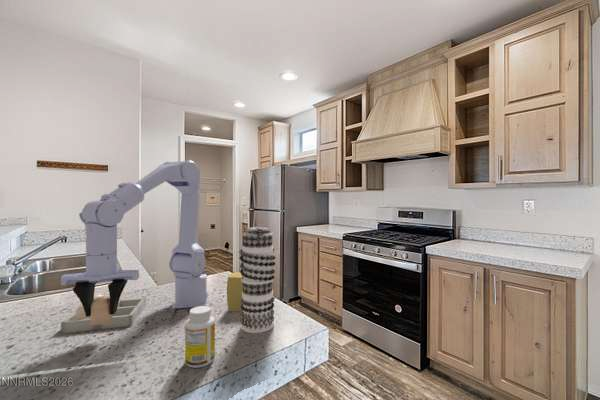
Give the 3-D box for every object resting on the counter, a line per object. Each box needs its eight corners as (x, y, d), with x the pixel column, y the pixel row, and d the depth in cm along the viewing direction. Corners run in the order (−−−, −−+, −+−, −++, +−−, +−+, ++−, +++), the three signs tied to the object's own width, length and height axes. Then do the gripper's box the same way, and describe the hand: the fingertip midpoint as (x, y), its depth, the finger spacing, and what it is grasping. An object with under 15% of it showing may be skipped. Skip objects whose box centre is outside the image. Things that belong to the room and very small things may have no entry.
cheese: (234, 299, 90) (235, 268, 90) (267, 299, 90) (268, 268, 90) (226, 312, 80) (226, 277, 80) (263, 312, 80) (263, 277, 80)
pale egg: (98, 320, 72) (98, 299, 72) (91, 327, 68) (91, 304, 69) (80, 322, 71) (80, 300, 71) (72, 329, 67) (72, 306, 67)
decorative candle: (238, 319, 74) (238, 226, 75) (272, 316, 77) (272, 226, 77) (239, 335, 65) (240, 229, 66) (278, 331, 68) (278, 229, 68)
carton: (145, 307, 83) (145, 297, 83) (131, 327, 69) (131, 315, 70) (87, 313, 78) (87, 302, 78) (61, 335, 65) (61, 322, 65)
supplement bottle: (205, 350, 59) (205, 302, 59) (220, 360, 55) (220, 308, 55) (179, 362, 55) (179, 310, 55) (194, 373, 51) (194, 317, 51)
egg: (115, 316, 65) (115, 292, 65) (108, 323, 61) (108, 298, 61) (95, 318, 64) (95, 294, 64) (87, 326, 60) (87, 300, 60)
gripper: (52, 258, 57) (52, 325, 57) (132, 255, 61) (132, 317, 61) (70, 252, 63) (70, 312, 63) (141, 249, 67) (141, 305, 67)
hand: (101, 313), depth 62 cm, fingers closed on egg, 4 cm apart
